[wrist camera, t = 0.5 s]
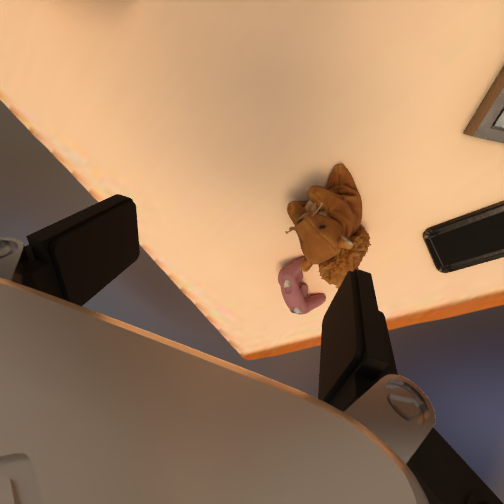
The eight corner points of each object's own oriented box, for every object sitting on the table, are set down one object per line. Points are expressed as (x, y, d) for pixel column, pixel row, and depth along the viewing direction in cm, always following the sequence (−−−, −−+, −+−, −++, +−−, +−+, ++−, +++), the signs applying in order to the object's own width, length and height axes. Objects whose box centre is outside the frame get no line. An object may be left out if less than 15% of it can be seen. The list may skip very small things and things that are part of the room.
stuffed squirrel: (340, 156, 34) (343, 186, 23) (389, 236, 38) (411, 294, 27) (280, 196, 39) (259, 236, 28) (328, 263, 43) (326, 321, 32)
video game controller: (292, 252, 45) (268, 276, 41) (313, 253, 42) (290, 279, 38) (308, 294, 49) (287, 319, 45) (329, 299, 46) (309, 326, 42)
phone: (422, 233, 35) (574, 178, 28) (419, 229, 36) (566, 176, 29) (439, 275, 38) (584, 235, 30) (437, 271, 39) (576, 231, 31)
